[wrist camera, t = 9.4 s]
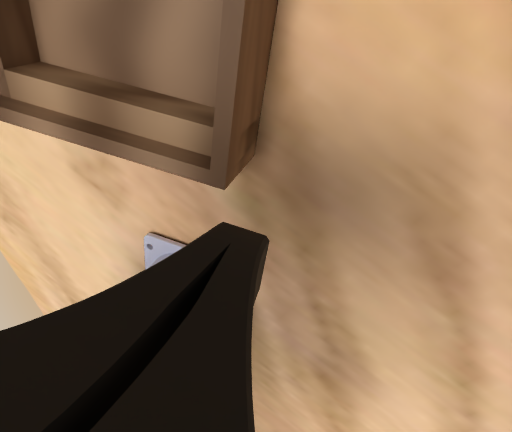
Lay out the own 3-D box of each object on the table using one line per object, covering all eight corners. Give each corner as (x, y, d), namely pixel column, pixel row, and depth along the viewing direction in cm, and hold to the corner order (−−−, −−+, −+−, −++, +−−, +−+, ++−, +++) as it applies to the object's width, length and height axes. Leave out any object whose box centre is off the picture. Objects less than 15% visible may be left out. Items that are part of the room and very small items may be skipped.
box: (300, -145, 13) (265, -190, 10) (254, 155, 20) (224, 190, 17) (-11, -182, 15) (-123, -227, 12) (45, 95, 22) (-17, 115, 19)
